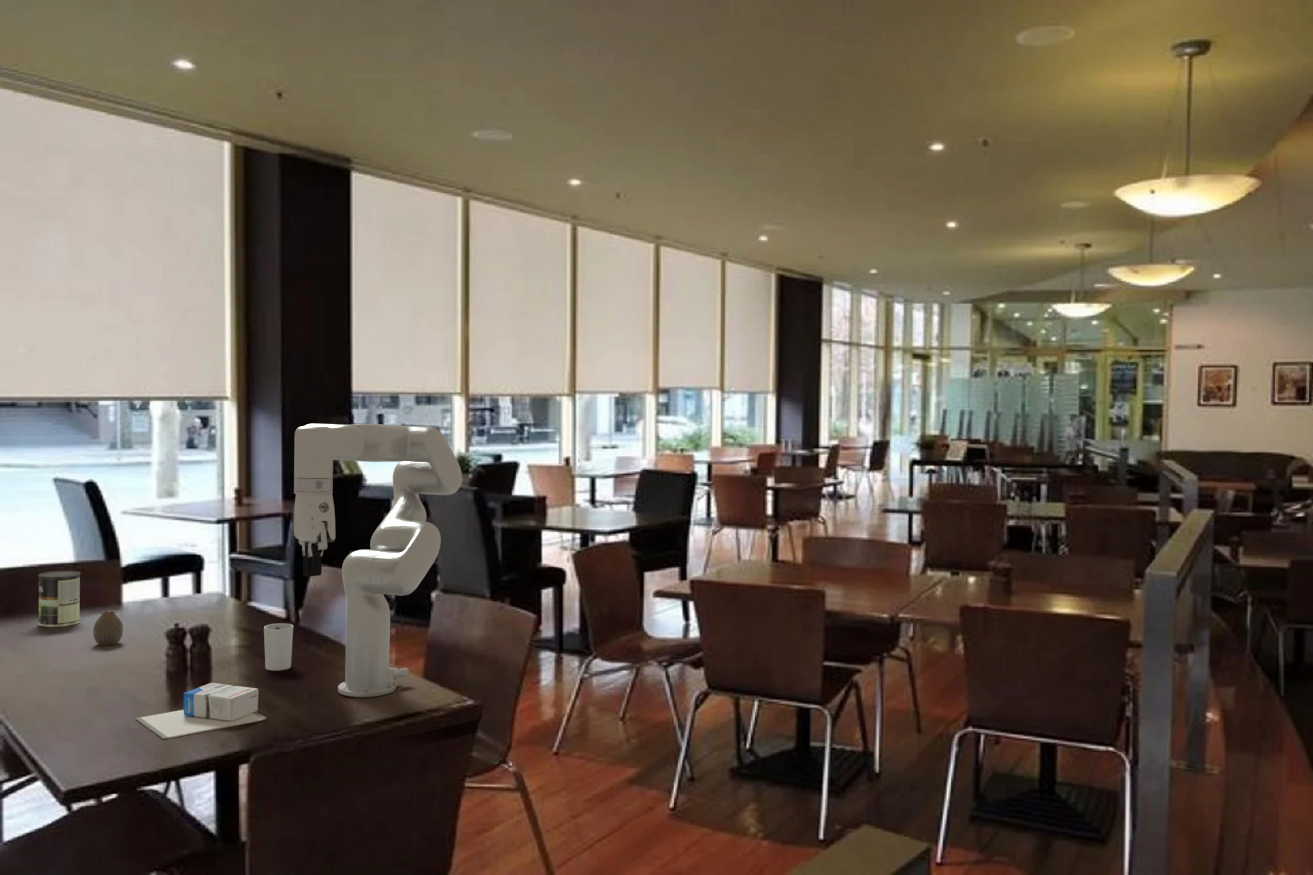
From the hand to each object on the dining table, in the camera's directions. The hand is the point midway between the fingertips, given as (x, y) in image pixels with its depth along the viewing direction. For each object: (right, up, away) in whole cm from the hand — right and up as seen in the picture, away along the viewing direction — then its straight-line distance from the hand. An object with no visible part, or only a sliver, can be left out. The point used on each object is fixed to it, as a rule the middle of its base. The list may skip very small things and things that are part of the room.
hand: (312, 575), depth 217 cm
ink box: (-24, -26, +2) cm, 35 cm away
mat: (-21, -29, -3) cm, 36 cm away
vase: (-72, -26, +58) cm, 96 cm away
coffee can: (-97, -24, +80) cm, 128 cm away
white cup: (-21, -28, +38) cm, 52 cm away
